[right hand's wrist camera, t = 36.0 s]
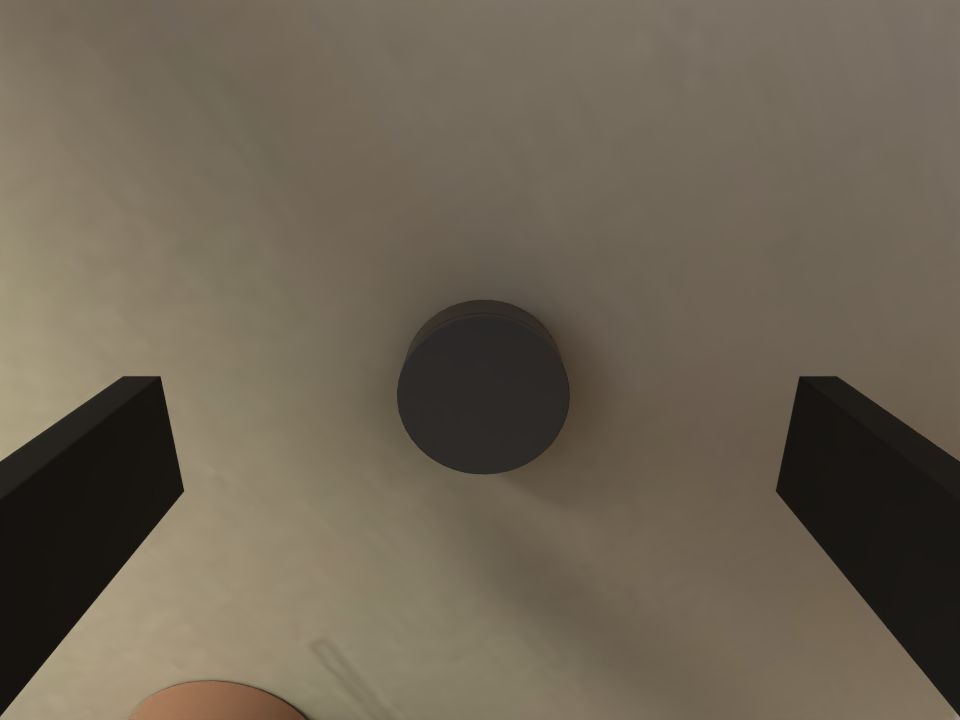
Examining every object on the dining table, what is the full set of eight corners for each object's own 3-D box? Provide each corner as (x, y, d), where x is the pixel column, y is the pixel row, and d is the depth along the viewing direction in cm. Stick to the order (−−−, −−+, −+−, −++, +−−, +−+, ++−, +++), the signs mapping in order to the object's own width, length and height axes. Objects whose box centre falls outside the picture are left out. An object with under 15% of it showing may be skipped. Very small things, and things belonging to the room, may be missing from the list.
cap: (398, 301, 16) (390, 319, 14) (563, 296, 16) (571, 314, 14) (410, 446, 17) (403, 476, 16) (560, 443, 17) (567, 472, 16)
